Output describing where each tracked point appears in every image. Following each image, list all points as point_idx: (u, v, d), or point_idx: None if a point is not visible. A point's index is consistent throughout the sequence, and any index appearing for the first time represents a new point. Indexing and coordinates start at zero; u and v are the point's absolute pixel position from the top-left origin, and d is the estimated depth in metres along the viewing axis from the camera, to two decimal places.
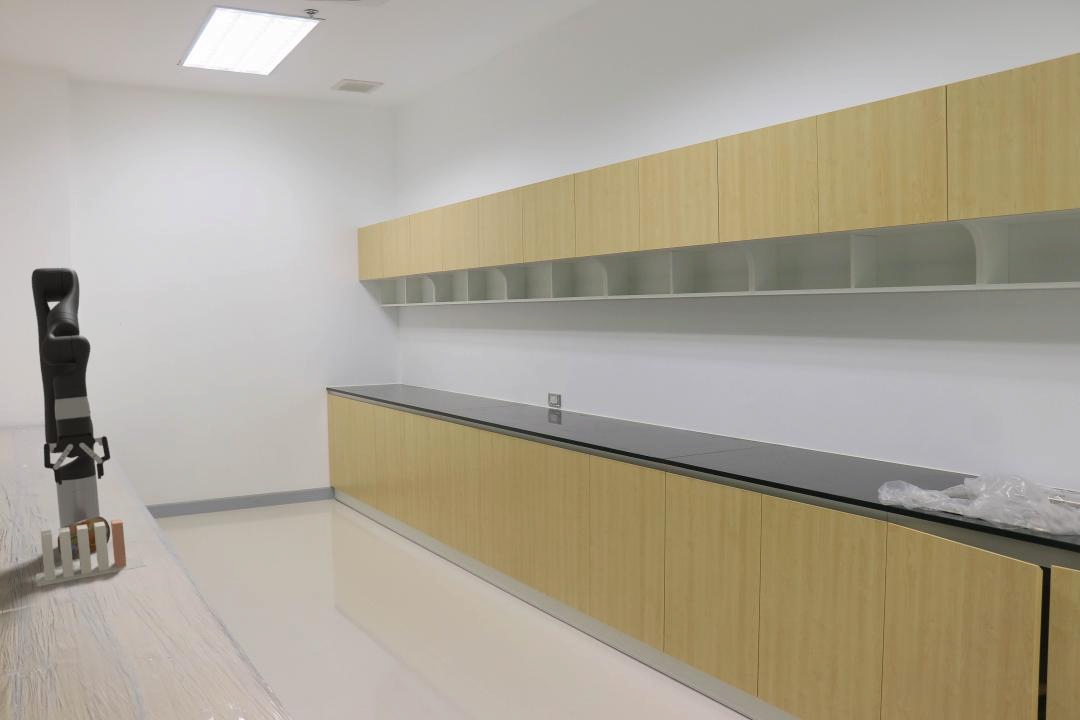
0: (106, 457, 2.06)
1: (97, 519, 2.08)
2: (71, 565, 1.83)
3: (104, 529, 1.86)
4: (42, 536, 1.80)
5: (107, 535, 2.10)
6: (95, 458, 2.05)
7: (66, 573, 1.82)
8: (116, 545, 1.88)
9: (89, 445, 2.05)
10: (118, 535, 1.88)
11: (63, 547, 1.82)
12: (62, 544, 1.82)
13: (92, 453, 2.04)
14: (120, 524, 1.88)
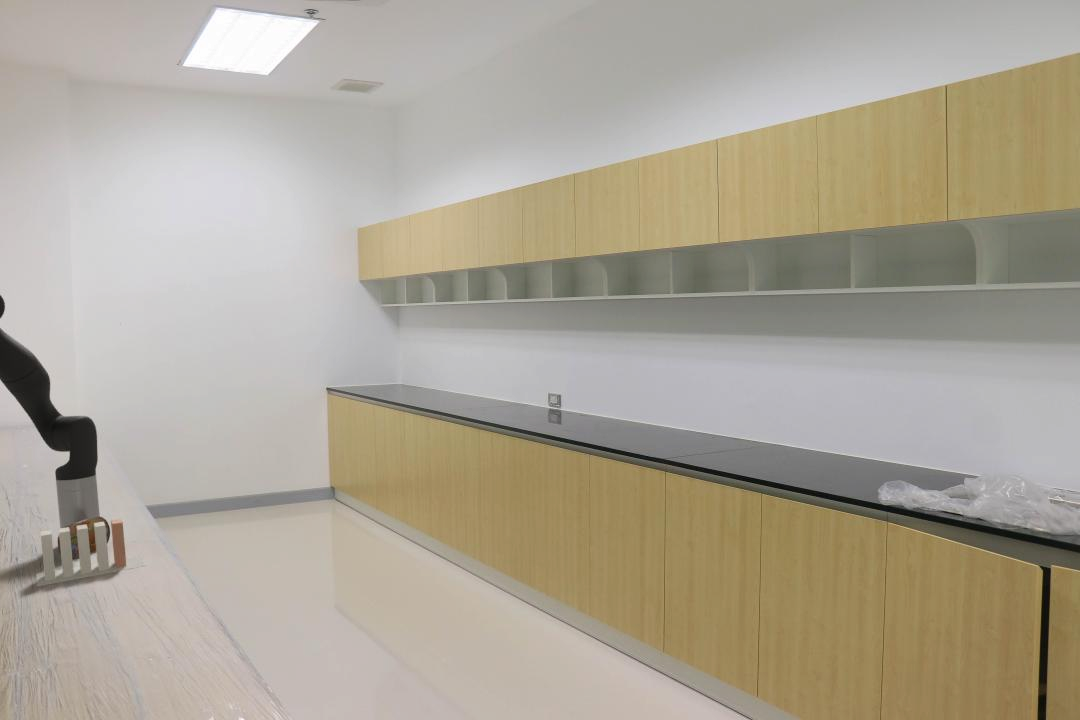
0: None
1: (97, 519, 2.08)
2: (71, 565, 1.83)
3: (104, 529, 1.86)
4: (42, 536, 1.80)
5: (107, 535, 2.10)
6: None
7: (66, 573, 1.82)
8: (116, 545, 1.88)
9: None
10: (118, 535, 1.88)
11: (63, 547, 1.82)
12: (62, 544, 1.82)
13: None
14: (120, 524, 1.88)
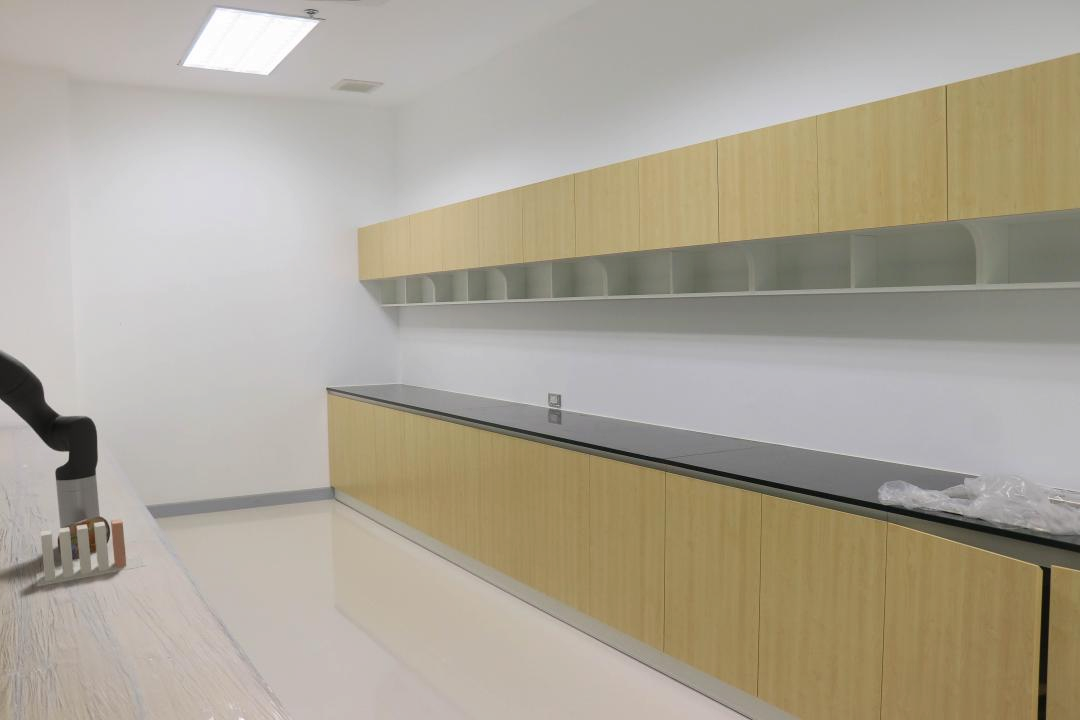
0: None
1: (97, 519, 2.08)
2: (71, 565, 1.83)
3: (104, 529, 1.86)
4: (42, 536, 1.80)
5: (107, 535, 2.10)
6: None
7: (66, 573, 1.82)
8: (116, 545, 1.88)
9: None
10: (118, 535, 1.88)
11: (63, 547, 1.82)
12: (62, 544, 1.82)
13: None
14: (120, 524, 1.88)
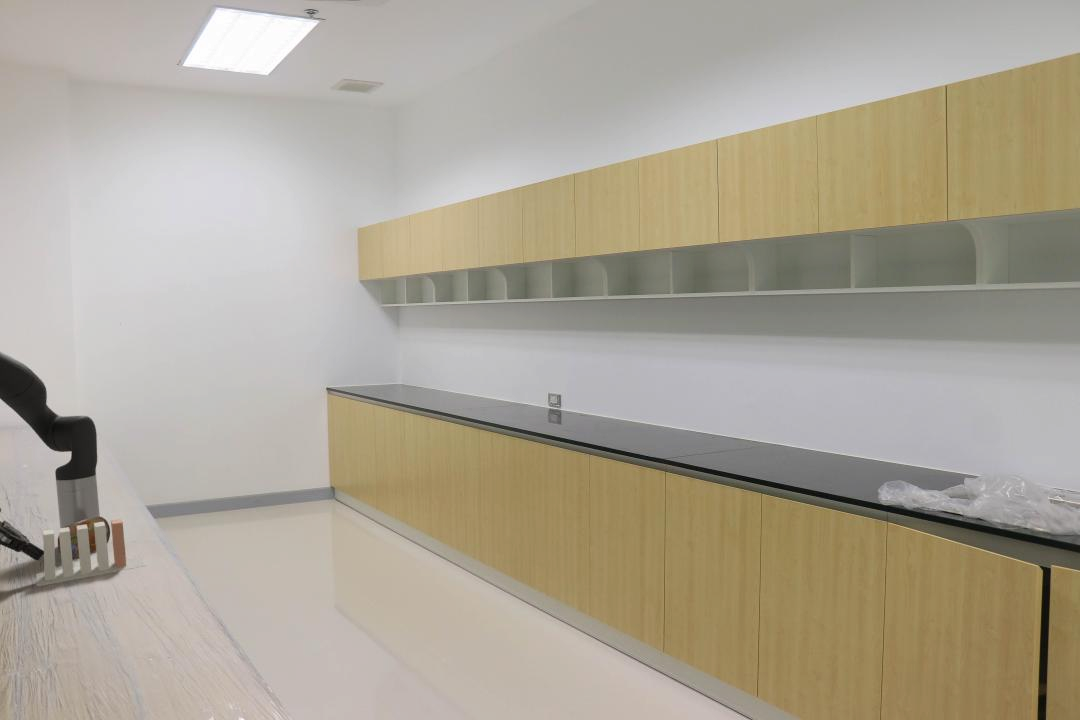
0: None
1: (97, 519, 2.08)
2: (71, 565, 1.83)
3: (104, 529, 1.86)
4: (45, 535, 1.80)
5: (107, 535, 2.10)
6: None
7: (66, 573, 1.82)
8: (116, 545, 1.88)
9: None
10: (118, 535, 1.88)
11: (63, 547, 1.82)
12: (62, 544, 1.82)
13: None
14: (120, 524, 1.88)
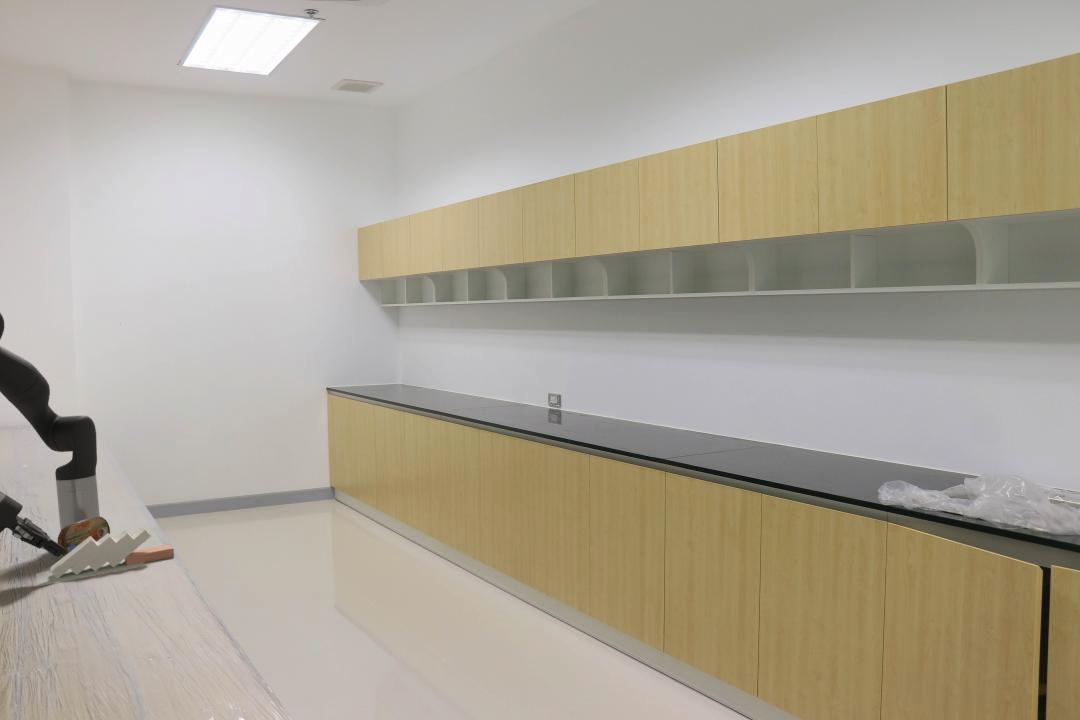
0: None
1: (97, 519, 2.08)
2: (85, 566, 1.84)
3: (147, 538, 1.91)
4: (91, 541, 1.85)
5: None
6: None
7: (75, 568, 1.83)
8: (150, 554, 1.91)
9: None
10: (160, 554, 1.93)
11: (97, 548, 1.86)
12: (100, 546, 1.86)
13: None
14: (171, 554, 1.94)
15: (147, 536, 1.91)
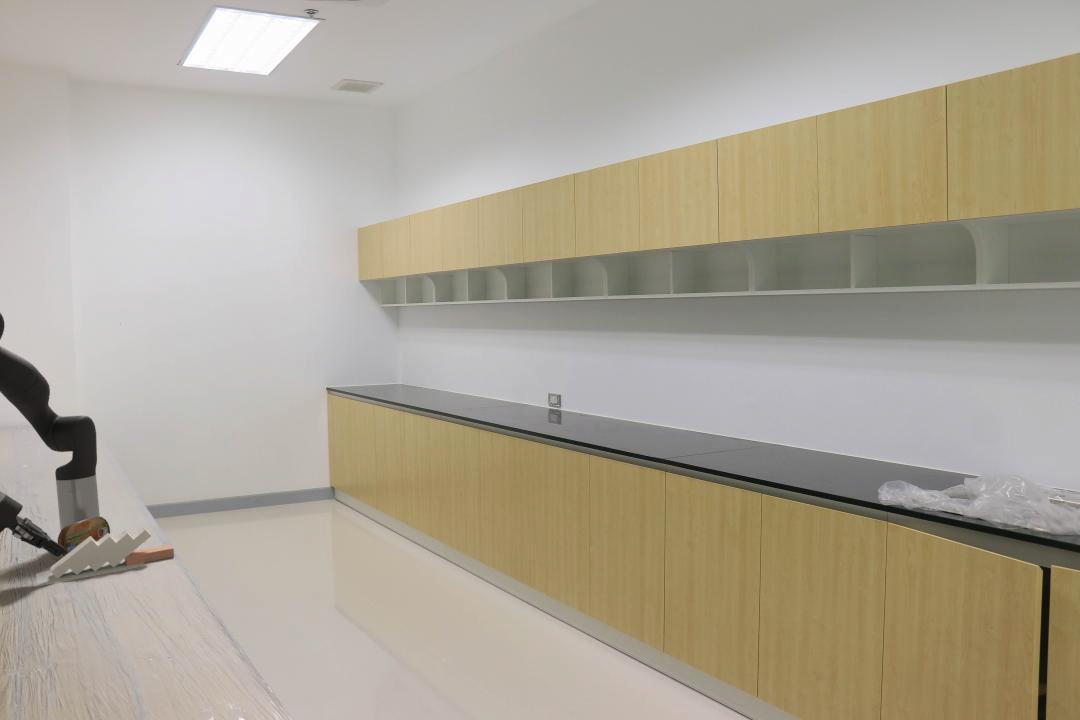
0: None
1: (97, 519, 2.08)
2: (85, 566, 1.84)
3: (147, 538, 1.91)
4: (91, 541, 1.85)
5: None
6: None
7: (75, 568, 1.83)
8: (150, 554, 1.91)
9: None
10: (160, 554, 1.93)
11: (97, 548, 1.86)
12: (100, 546, 1.86)
13: None
14: (171, 554, 1.94)
15: (147, 536, 1.91)
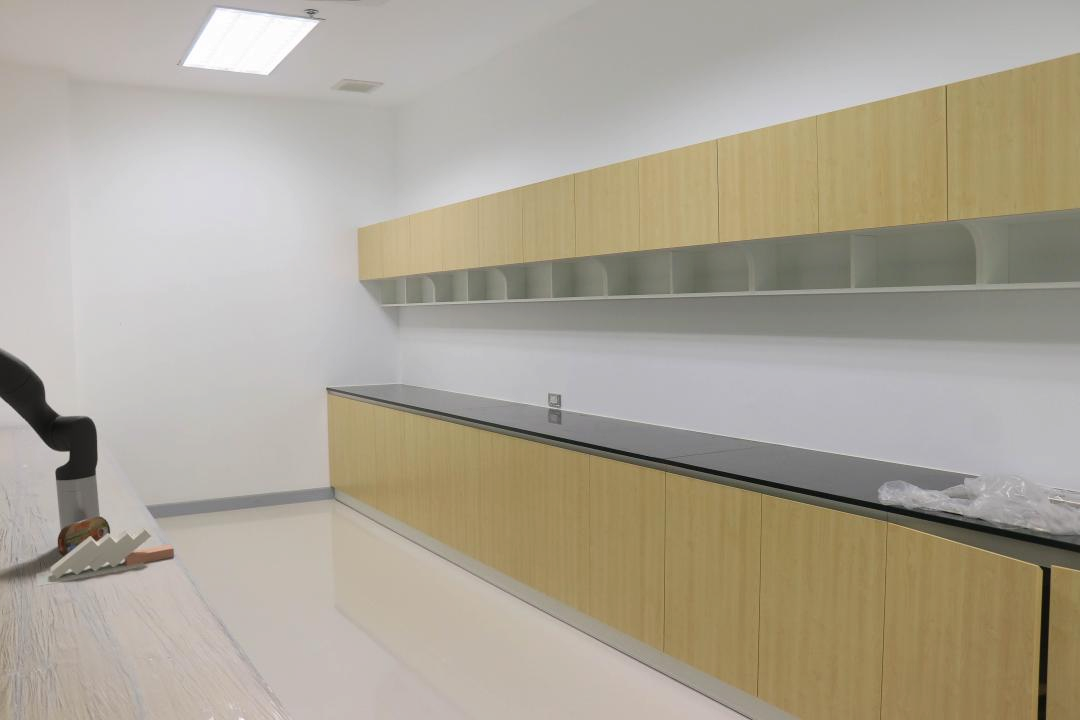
0: None
1: (97, 519, 2.08)
2: (85, 566, 1.84)
3: (147, 538, 1.91)
4: (91, 541, 1.85)
5: None
6: None
7: (75, 568, 1.83)
8: (150, 554, 1.91)
9: None
10: (160, 554, 1.93)
11: (97, 548, 1.86)
12: (100, 546, 1.86)
13: None
14: (171, 554, 1.94)
15: (147, 536, 1.91)
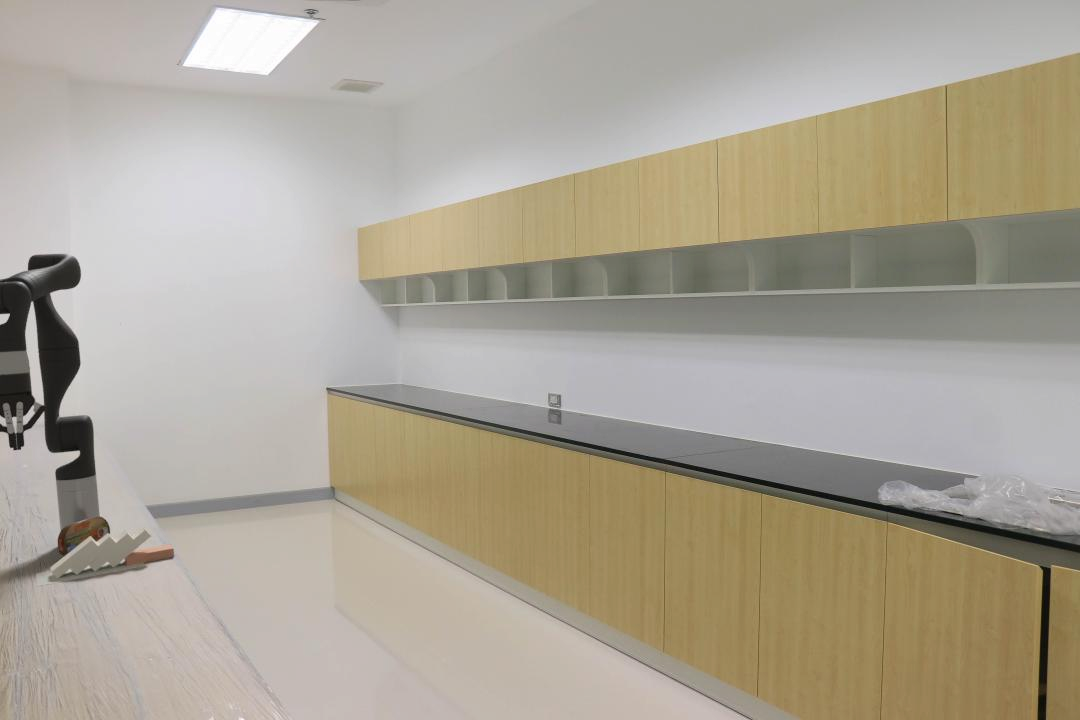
0: (27, 426, 1.84)
1: (97, 519, 2.08)
2: (85, 566, 1.84)
3: (147, 538, 1.91)
4: (91, 541, 1.85)
5: None
6: (18, 424, 1.83)
7: (75, 568, 1.83)
8: (150, 554, 1.91)
9: (25, 409, 1.84)
10: (160, 554, 1.93)
11: (97, 548, 1.86)
12: (100, 546, 1.86)
13: (20, 418, 1.83)
14: (171, 554, 1.94)
15: (147, 536, 1.91)
